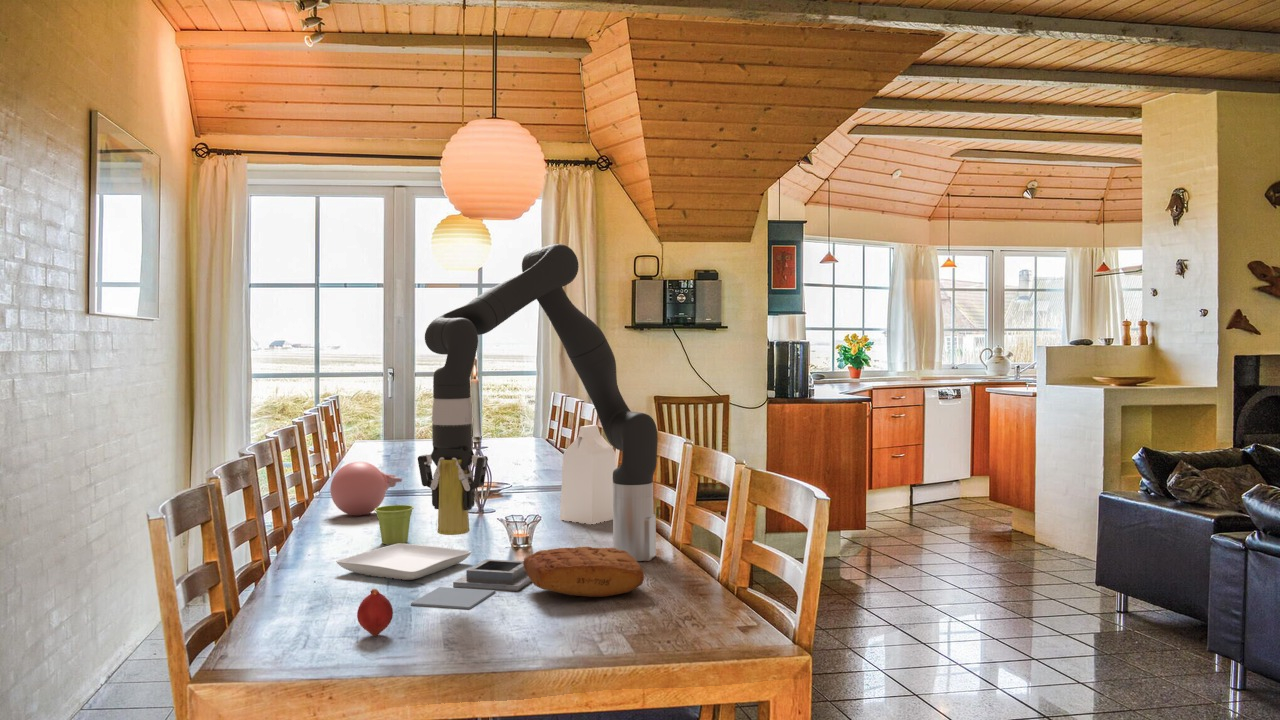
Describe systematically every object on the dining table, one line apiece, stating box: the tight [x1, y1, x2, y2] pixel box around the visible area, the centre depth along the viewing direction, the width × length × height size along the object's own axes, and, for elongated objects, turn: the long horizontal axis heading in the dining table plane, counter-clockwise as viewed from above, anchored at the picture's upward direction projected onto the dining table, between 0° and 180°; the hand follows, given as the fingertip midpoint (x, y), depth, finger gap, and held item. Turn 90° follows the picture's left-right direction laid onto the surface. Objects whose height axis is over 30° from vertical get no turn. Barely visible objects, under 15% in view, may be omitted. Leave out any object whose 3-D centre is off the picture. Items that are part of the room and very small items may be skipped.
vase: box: [437, 459, 470, 536], centre depth 182 cm, size 6×6×14 cm
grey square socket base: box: [452, 558, 532, 592], centre depth 196 cm, size 14×14×3 cm
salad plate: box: [336, 543, 472, 581], centre depth 207 cm, size 21×21×3 cm
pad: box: [410, 586, 496, 610], centre depth 183 cm, size 12×12×1 cm
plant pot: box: [374, 504, 414, 546], centre depth 234 cm, size 9×9×9 cm
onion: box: [356, 588, 394, 637], centre depth 160 cm, size 6×6×8 cm
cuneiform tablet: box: [523, 546, 645, 598], centre depth 186 cm, size 22×17×8 cm
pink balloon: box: [330, 461, 403, 517], centre depth 273 cm, size 15×20×15 cm
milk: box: [559, 424, 617, 525], centre depth 263 cm, size 12×12×26 cm
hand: (453, 508), depth 182 cm, fingers closed on vase, 5 cm apart
